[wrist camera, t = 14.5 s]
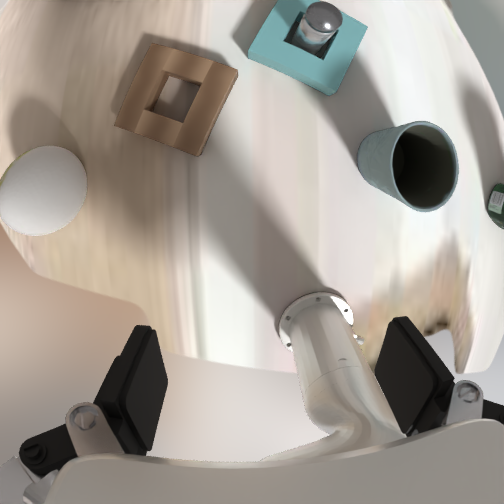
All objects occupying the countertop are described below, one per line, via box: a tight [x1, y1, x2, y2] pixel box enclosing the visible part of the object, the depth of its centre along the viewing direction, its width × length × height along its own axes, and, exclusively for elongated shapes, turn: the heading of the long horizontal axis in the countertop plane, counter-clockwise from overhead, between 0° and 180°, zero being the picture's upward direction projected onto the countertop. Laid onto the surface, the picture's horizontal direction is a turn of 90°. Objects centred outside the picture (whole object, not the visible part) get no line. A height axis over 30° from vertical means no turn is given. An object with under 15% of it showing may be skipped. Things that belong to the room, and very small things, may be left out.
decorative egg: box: [0, 146, 87, 236], centre depth 30 cm, size 12×12×15 cm
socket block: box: [248, 0, 368, 96], centre depth 29 cm, size 12×12×4 cm
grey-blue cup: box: [357, 121, 459, 212], centre depth 31 cm, size 10×10×12 cm
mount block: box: [114, 43, 238, 156], centre depth 32 cm, size 12×12×4 cm
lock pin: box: [292, 2, 343, 55], centre depth 26 cm, size 4×4×10 cm
